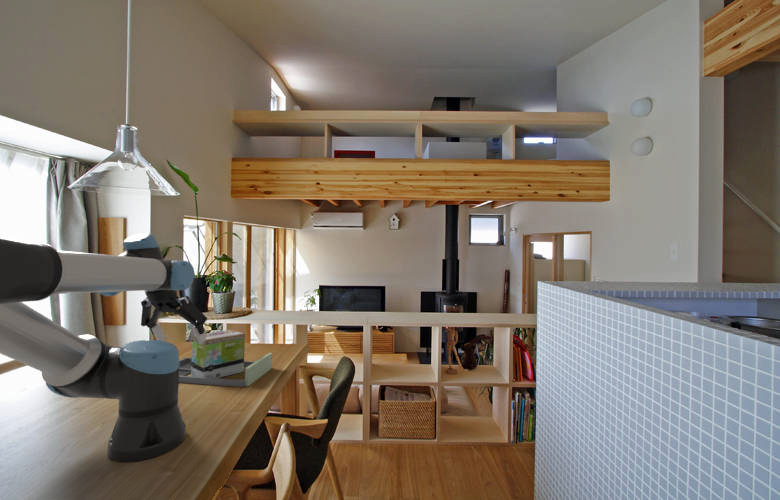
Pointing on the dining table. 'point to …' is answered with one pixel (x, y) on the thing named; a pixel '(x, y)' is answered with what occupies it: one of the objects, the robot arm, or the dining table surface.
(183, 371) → the channel
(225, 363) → the tea box
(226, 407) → the dining table surface
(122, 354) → the robot arm
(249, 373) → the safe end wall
